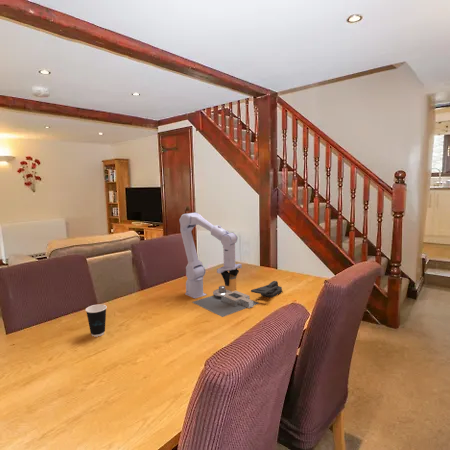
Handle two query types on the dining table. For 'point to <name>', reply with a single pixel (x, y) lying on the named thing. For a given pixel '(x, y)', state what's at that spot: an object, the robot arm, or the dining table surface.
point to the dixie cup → (96, 319)
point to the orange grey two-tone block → (231, 283)
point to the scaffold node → (233, 297)
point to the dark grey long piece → (269, 290)
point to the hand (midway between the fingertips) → (229, 284)
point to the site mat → (219, 306)
